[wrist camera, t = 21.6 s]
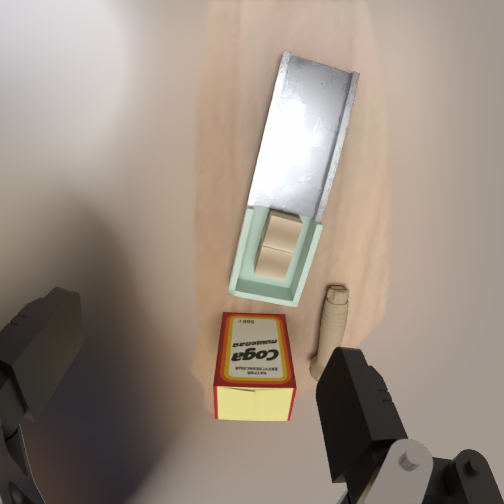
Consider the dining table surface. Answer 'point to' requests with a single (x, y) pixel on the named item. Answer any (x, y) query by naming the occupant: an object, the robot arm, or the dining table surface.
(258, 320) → the baking soda box
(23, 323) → the robot arm
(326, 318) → the handle
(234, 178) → the dining table surface
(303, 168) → the metal chute
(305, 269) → the chip tray
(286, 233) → the birch block
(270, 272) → the birch block
